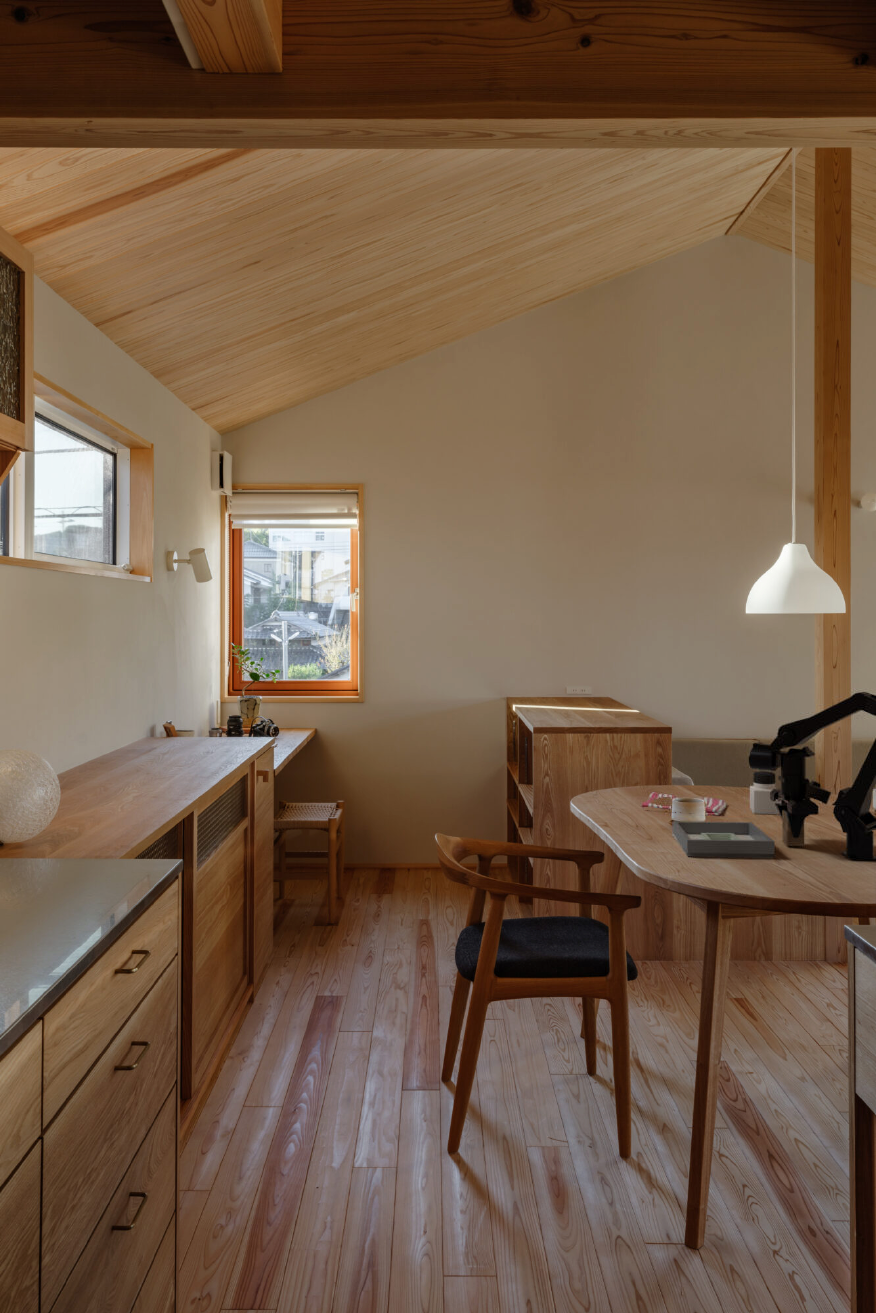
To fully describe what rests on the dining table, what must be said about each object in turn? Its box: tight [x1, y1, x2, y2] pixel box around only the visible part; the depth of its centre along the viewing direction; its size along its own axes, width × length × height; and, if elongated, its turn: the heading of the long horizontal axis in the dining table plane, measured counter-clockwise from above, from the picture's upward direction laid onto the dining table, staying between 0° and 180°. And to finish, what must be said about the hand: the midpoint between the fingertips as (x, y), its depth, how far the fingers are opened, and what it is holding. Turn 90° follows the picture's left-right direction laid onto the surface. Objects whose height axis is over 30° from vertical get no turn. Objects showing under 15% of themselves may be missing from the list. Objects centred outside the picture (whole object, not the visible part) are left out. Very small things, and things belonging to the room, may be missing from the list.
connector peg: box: [781, 810, 805, 847], centre depth 208 cm, size 4×4×8 cm
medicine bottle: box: [749, 770, 780, 816], centre depth 248 cm, size 7×7×12 cm
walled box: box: [672, 821, 775, 859], centre depth 208 cm, size 20×20×4 cm
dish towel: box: [641, 791, 727, 817], centre depth 255 cm, size 17×23×4 cm
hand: (793, 835), depth 209 cm, fingers closed on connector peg, 4 cm apart
